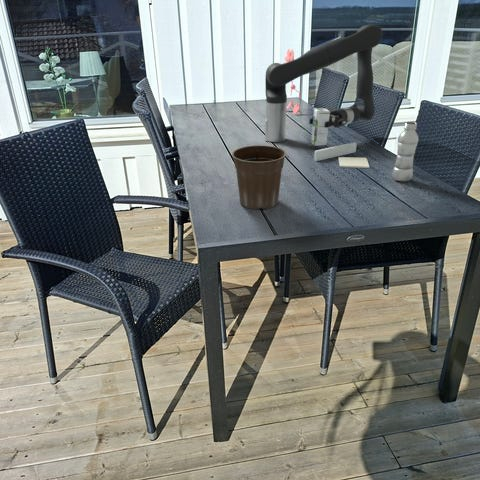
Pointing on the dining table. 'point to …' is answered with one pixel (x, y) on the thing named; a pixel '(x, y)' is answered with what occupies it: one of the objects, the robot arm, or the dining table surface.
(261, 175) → the plant pot
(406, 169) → the plastic bottle
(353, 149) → the low wall
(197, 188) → the dining table surface
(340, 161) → the resting pad
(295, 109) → the figurine
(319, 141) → the syrup box
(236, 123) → the dining table surface
